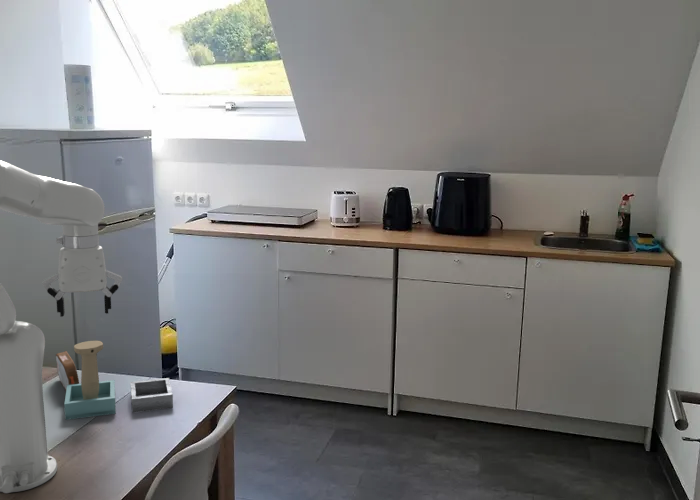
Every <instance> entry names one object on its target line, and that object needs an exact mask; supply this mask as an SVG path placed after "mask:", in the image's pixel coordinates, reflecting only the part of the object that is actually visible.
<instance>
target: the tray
mask: <svg viewBox="0 0 700 500" xmlns="http://www.w3.org/2000/svg"><path fill="white" fill-rule="evenodd" d="M115 385H116V383H115V379H113V380H111V379H110V380H104V381H103V380H101V381H99V394H98V398H96V399H87V400H83V394H82V387H81V383H79V384H73V385H67V390H65V397H64V398H65V399H64V419H65V421H68V420H75V419H83V418H91V417H92V418H93V417H99V416H107V415H115V414H117V413H116V411H117V410H116V408H117V407H116V386H115Z"/></svg>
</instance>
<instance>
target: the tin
mask: <svg viewBox="0 0 700 500" xmlns="http://www.w3.org/2000/svg"><path fill="white" fill-rule="evenodd" d="M55 360H56V367H57V375H58V379H59V381H60V383H61V385H62V387H63V388H64V391H66V390H67V385H73V384H80V380H79V374H78V371H77V370H78V369H77V367H76V364H75V363H74V362H75V361H74V360H73V359H72V357H71V356H70V354H69V353H68V351H67V350H65V351H62V352H57V353H56V354H55Z"/></svg>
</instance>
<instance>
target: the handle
mask: <svg viewBox="0 0 700 500" xmlns="http://www.w3.org/2000/svg"><path fill="white" fill-rule="evenodd" d="M73 349H74V350H73V351H74V352H75V353H76V354H77V355H79V356H81V374H80V375H81V378H80V379H81V380H80V384H81V387H82V394H83V400H87V399H96V398H98V394H99V382H100V378H99V369H98V368H99V367H98V353H99V352H101V351H102V350H103V349H104V343H103V342H102V341H101V340H87V341H83V342H78V343H76V344H74V346H73Z"/></svg>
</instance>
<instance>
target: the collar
mask: <svg viewBox="0 0 700 500" xmlns="http://www.w3.org/2000/svg"><path fill="white" fill-rule="evenodd" d="M130 395H131V397H130V398H131V399H130V400H131V410H132V414H134V413H143V412H149V411H159V410H165V409H167V410H168V409H173V408H174V400H173V398H174V395H173V389H172V385H171V381H170V377H166V378H165V377H164V378H156V379H147V380H139V381H137V380H136V381H130Z"/></svg>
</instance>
